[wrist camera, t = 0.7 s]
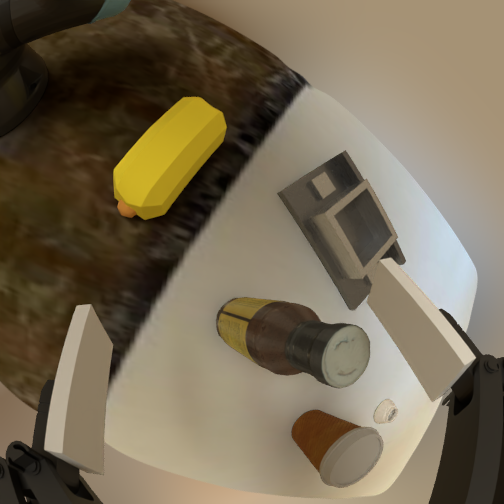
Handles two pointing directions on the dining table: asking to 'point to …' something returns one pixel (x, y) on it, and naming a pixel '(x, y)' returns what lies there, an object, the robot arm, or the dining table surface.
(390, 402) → the lidless jar
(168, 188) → the hot dog
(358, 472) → the disposable coffee cup
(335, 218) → the bottle holder
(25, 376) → the dining table surface
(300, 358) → the sauce bottle
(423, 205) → the dining table surface
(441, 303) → the dining table surface
